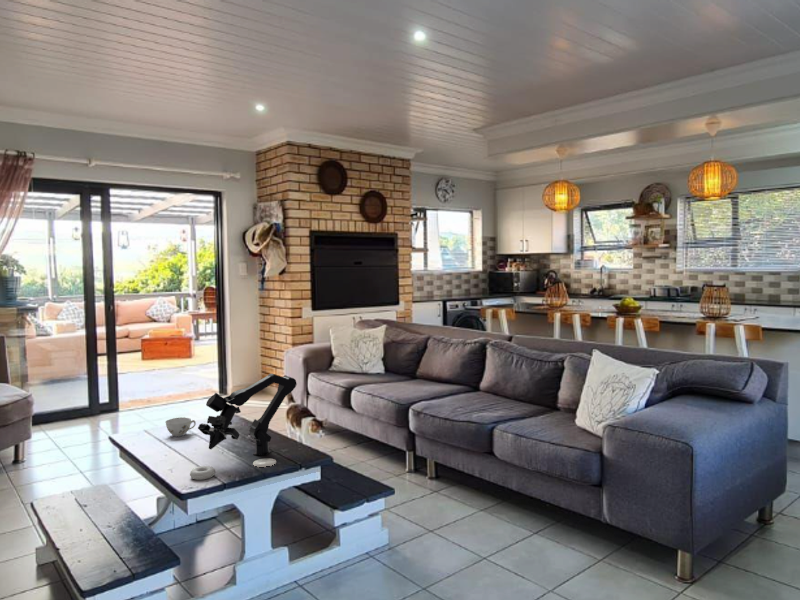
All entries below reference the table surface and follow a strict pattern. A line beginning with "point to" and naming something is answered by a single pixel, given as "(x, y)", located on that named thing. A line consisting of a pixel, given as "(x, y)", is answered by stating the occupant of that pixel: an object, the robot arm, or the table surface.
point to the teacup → (179, 425)
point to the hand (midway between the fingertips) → (209, 448)
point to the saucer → (264, 462)
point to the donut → (202, 472)
